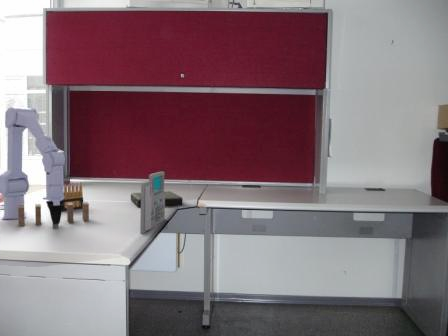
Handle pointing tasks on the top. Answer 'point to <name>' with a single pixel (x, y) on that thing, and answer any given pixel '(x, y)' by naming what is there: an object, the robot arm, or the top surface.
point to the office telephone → (152, 201)
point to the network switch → (170, 199)
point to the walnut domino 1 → (21, 215)
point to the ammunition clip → (73, 196)
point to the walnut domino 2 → (38, 214)
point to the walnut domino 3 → (70, 212)
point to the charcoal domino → (55, 226)
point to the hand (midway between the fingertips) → (55, 221)
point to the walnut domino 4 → (85, 211)
